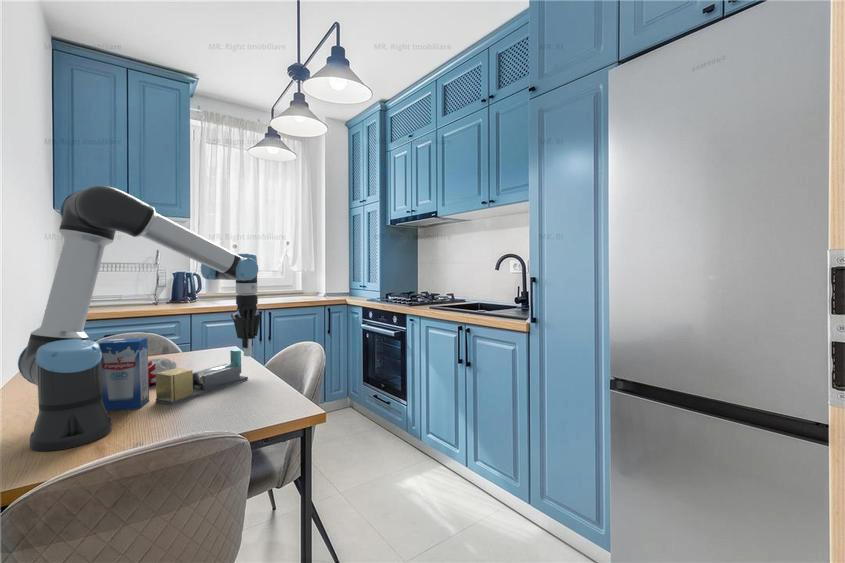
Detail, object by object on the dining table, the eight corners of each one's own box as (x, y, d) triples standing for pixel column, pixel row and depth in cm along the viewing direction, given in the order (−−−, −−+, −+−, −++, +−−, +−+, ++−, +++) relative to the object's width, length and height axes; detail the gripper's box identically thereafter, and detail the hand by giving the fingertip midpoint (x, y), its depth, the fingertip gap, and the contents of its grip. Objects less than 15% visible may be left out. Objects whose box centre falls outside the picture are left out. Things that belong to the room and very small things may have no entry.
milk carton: (101, 411, 113) (98, 343, 112) (111, 404, 119) (109, 339, 118) (141, 408, 116) (138, 341, 115) (149, 401, 122) (147, 337, 121)
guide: (171, 401, 118) (171, 375, 118) (156, 398, 121) (155, 373, 121) (239, 379, 142) (239, 357, 141) (225, 377, 144) (225, 355, 144)
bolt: (203, 385, 130) (203, 359, 130) (195, 383, 132) (194, 358, 131) (241, 373, 144) (241, 350, 144) (233, 372, 146) (233, 349, 145)
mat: (172, 405, 118) (172, 402, 118) (155, 401, 121) (155, 398, 121) (247, 379, 145) (247, 376, 145) (232, 377, 148) (232, 374, 148)
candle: (179, 376, 147) (151, 394, 132) (149, 376, 147) (118, 394, 132) (177, 353, 145) (148, 369, 131) (147, 353, 146) (115, 368, 131)
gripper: (240, 295, 141) (241, 360, 142) (267, 293, 153) (268, 353, 154) (225, 295, 144) (226, 358, 145) (252, 292, 156) (253, 351, 157)
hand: (247, 355), depth 149 cm, fingers closed
